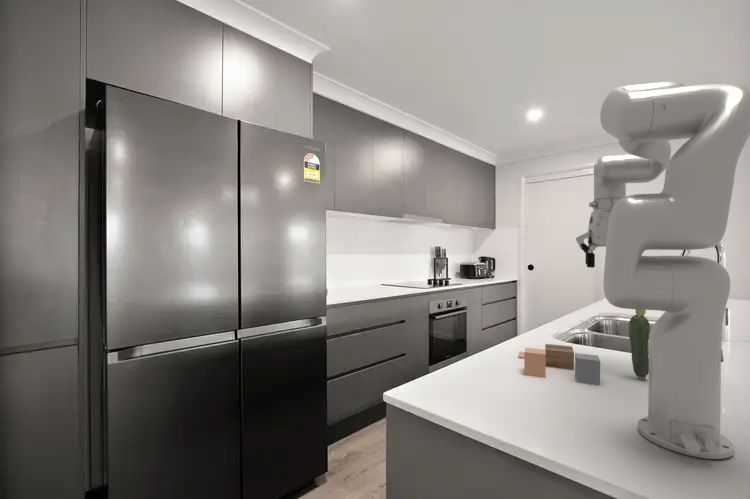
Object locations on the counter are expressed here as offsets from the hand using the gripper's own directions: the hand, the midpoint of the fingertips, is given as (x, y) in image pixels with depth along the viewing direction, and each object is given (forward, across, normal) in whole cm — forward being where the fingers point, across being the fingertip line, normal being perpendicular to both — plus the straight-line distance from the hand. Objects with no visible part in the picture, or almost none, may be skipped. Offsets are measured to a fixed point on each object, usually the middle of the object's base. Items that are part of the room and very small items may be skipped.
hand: (608, 267), depth 103 cm
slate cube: (+28, -11, -12) cm, 32 cm away
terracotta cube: (+28, -22, -8) cm, 37 cm away
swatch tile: (+28, -19, +8) cm, 34 cm away
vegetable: (+28, +3, -9) cm, 30 cm away
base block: (+28, -13, 0) cm, 31 cm away
